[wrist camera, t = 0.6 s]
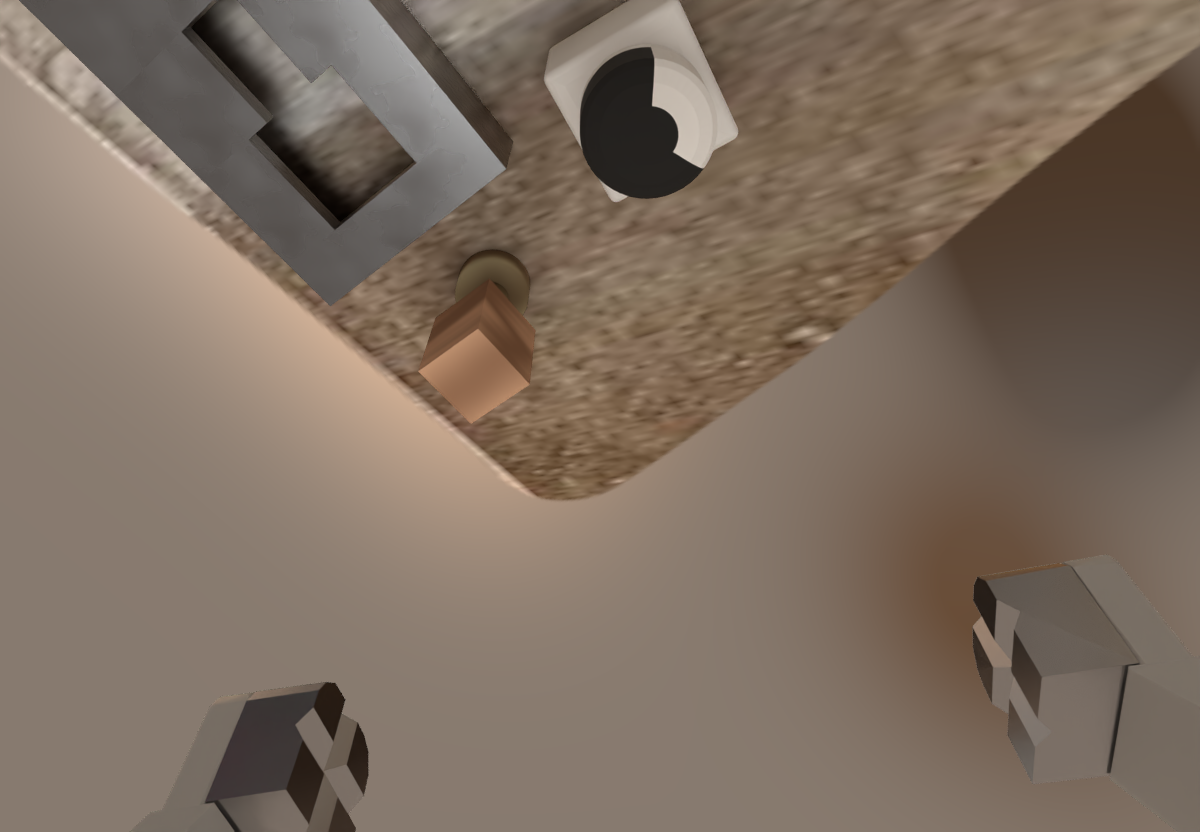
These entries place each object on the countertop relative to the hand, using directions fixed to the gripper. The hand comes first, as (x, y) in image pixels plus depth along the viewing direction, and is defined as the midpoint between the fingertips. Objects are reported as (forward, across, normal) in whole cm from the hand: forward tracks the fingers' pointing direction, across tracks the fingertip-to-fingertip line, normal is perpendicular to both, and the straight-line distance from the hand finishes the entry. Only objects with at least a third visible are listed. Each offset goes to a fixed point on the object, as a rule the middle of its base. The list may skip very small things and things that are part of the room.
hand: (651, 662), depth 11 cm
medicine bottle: (+42, -2, +1) cm, 42 cm away
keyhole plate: (+42, +16, -3) cm, 45 cm away
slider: (+42, +9, +11) cm, 45 cm away
